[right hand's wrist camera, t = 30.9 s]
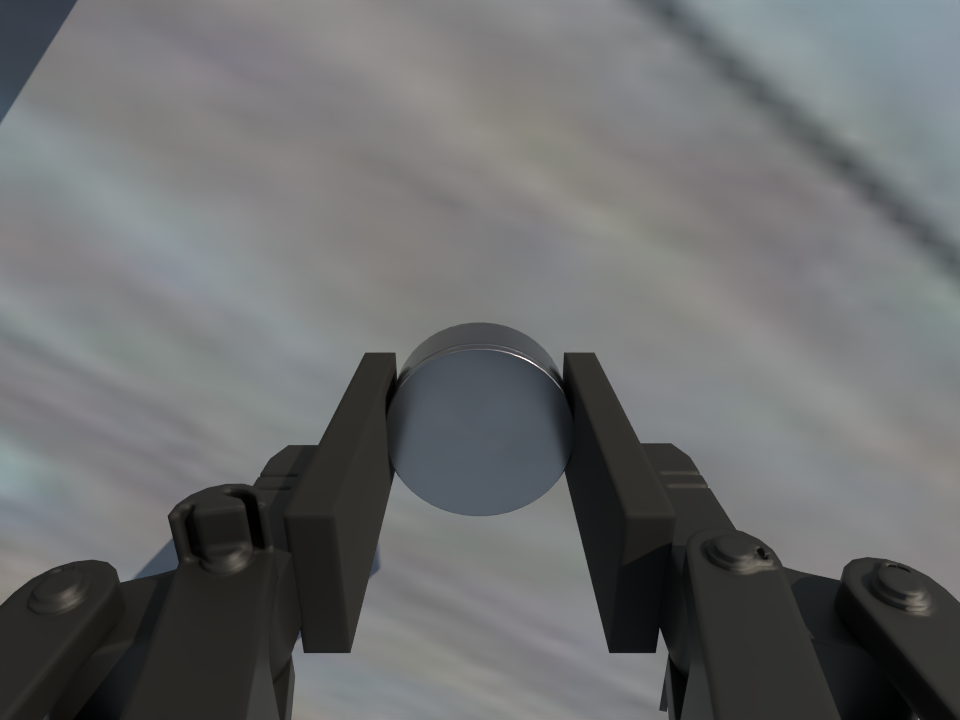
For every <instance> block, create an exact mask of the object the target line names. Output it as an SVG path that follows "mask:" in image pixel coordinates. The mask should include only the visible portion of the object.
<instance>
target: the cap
mask: <svg viewBox="0 0 960 720" xmlns="http://www.w3.org/2000/svg"><path fill="white" fill-rule="evenodd" d="M573 426H574V417H573V413H572V409H571V406H570V403H569V399H568V396H567V393H566V390H565V387H564V384H563V381H562V378H561V375H560V373H559V371H558V368H557V366H556V365H555V363H554V361H553V360H552V358H551V357H550V356H549V354H548V353H547V352H546V351H545V350H544V349H543V348H542V347H541V346H540V345H539V344H538V343H537V342H536V341H534V340H533V339H531V338H530V337H529V336H527V335H525V334H523V333H521V332H519V331H517V330H515V329H512V328H510V327H507V326H502V325H498V324H492V323H468V324H461V325H457V326H453V327H450V328H447V329H445V330H442V331H440V332H438V333H436V334H435V335H433V336H431V337H429V338H428V339H427V340H425V341H424V342H423V343H421V344H420V345H419V346H418V347H417V348H416V349H415V350H414V351H413V352H412V354H411V355H410V356H409V358H408V359H407V360H406V362H405V364H404V366H403V368H402V369H401V372H400V375H399V377H398V380H397V383H396V386H395V389H394V392H393V395H392V398H391V401H390V404H389V407H388V410H387V415H386V432H387V447H388V456H389V459H390V461H391V464H392V466H393V467H394V469H395V471H396V473H397V475H398V476H399V477H400V478H401V480H402V481H403V482H404V484H405V485H406V486H407V487H408V488H409V489H410V490H411V491H412V492H414V493H415V494H416V495H417V496H419V497H420V498H421V499H423V500H425V501H426V502H428V503H430V504H431V505H434V506H436V507H438V508H440V509H443V510H446V511H449V512H452V513H457V514H462V515H470V516H490V515H498V514H503V513H507V512H511V511H514V510H516V509H519V508H522V507H524V506H526V505H528V504H530V503H532V502H533V501H535V500H536V499H538V498H540V497H541V496H542V495H543V494H545V493H546V492H547V491H548V490H549V489H550V488H551V487H552V486H553V485H554V484H555V483H556V482H557V481H558V479H559V478H560V476H561V475H562V474H563V472H564V470H565V468H566V467H567V465H568V463H569V460H570V457H571V454H572V441H573Z"/></svg>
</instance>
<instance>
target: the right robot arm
mask: <svg viewBox="0 0 960 720" xmlns="http://www.w3.org/2000/svg"><path fill="white" fill-rule="evenodd" d="M396 383H397V371H396V354H395V353H365V354H364V356H363V358H362V360H361V362H360V364H359V366H358V368H357V370H356V372H355V374H354V376H353V378H352V380H351V382H350V384H349V386H348V388H347V390H346V392H345V394H344V396H343V398H342V400H341V402H340V404H339V405H338V407H337V409H336V411H335V413H334V415H333V417H332V419H331V421H330V423H329V425H328V427H327V429H326V431H325V433H324V435H323V437H322V439H321V441H320V443H319V445H288V446H287V447H286V448H284V449H283V450H281V451H280V452H279V453H277V454H276V455H275V456H273V457H272V458H270V460H269V461H268V463H267V464H266V466H265V468H264V469H263V471H262V472H261V474H260V477H258V479H257V480H256V482H255V483H254V485H253V486H250V485H246V484H224V485H219V486H214V487H210V488H206V489H204V490H202V491H199V492H197V493H194V494H192V495H190V496H189V497H187V498H186V499H184V500H183V501H181V502H180V503H178V504H177V505H176V506H175V507H174V509H173V510H172V511H171V512H170V514H169V515H168V519H169V523H170V527H171V531H172V536H173V540H174V544H175V548H176V552H177V556H178V560H179V564H178V567H177V569H175V570H172V571H169V572H165V573H162V574H158V575H153V576H149V577H144V578H140V579H135V580H131V581H126V582H122V583H120V581H119V577H118V574H117V571H116V569H115V568H114V567H113V566H111V565H110V564H109V563H108V562H103V561H97V560H85V561H76V562H71V563H68V564H64V565H61V566H58V567H55V568H52V569H50V570H48V571H46V572H44V573H43V574H41V575H39V576H37V577H35V578H33V579H31V580H30V581H28V582H27V583H26V584H25V585H23V586H22V587H21V588H19V589H18V590H17V591H15V592H14V593H13V594H12V595H11V596H10V597H9V598H8V599H7V600H6V601H5V602H4V603H3V604H2V605H1V606H0V720H291V716H292V704H293V693H294V682H295V673H294V666H293V660H292V654H291V653H292V651H293V648H294V645H295V642H296V639H297V637H298V634H299V631H301V637H302V643H303V650H304V653H350V652H351V648H352V644H353V640H354V636H355V632H356V628H357V623H358V619H359V615H360V611H361V607H362V603H363V599H364V595H365V591H366V587H367V583H368V579H369V575H370V571H371V567H372V563H373V559H374V554H375V550H376V546H377V542H378V538H379V534H380V530H381V526H382V522H383V518H384V514H385V510H386V506H387V502H388V498H389V494H390V490H391V486H392V481H393V477H394V473H395V469H394V467H393V466H392V464H391V461H390V459H389V456H388V447H387V432H386V415H387V410H388V407H389V404H390V401H391V398H392V395H393V392H394V389H395V386H396ZM563 384H564V387H565V390H566V393H567V396H568V399H569V403H570V406H571V409H572V413H573V417H574V426H573V441H572V454H571V457H570V460H569V463H568V465H567V467H566V468H565V470H564V471H565V475H566V479H567V483H568V487H569V491H570V495H571V499H572V503H573V507H574V511H575V515H576V519H577V523H578V528H579V532H580V536H581V540H582V544H583V548H584V552H585V556H586V560H587V564H588V568H589V572H590V576H591V580H592V584H593V588H594V592H595V597H596V601H597V605H598V609H599V613H600V617H601V621H602V625H603V629H604V633H605V637H606V641H607V645H608V649H609V653H656V648H657V641H658V635H659V628H660V629H661V632H662V635H663V638H664V640H665V643H666V646H667V649H668V651H669V654H668V660H667V666H666V672H665V678H664V684H663V690H662V696H661V703H660V709H659V710H660V711H665V712H667V707H668V714H669V720H918V718H919V719H920V720H960V603H959V602H958V601H957V600H956V599H955V598H954V597H953V596H952V595H951V594H950V593H949V592H948V591H947V590H946V589H945V588H943V587H942V586H941V585H939V584H938V583H937V582H935V581H934V580H933V579H931V578H930V577H929V576H927V575H925V574H923V573H921V572H919V571H917V570H915V569H913V568H911V567H909V566H906V565H904V564H901V563H897V562H894V561H890V560H887V559H879V558H870V557H866V558H860V559H855V560H852V561H851V562H850V563H848V564H847V565H846V566H845V567H844V569H843V573H842V576H841V579H840V580H835V579H831V578H826V577H822V576H817V575H813V574H808V573H804V572H799V571H796V570H792V569H789V568H785V567H783V566H782V564H781V561H780V560H779V558H778V557H777V555H776V554H775V552H774V551H773V550H772V549H771V548H770V547H768V546H767V545H766V544H765V543H763V542H762V541H761V540H759V539H757V538H755V537H753V536H751V535H749V534H747V533H745V532H742V531H738V530H736V529H735V527H734V525H733V524H732V522H731V521H730V519H729V518H728V516H727V515H726V513H725V511H724V510H723V508H722V507H721V505H720V504H719V502H718V500H717V499H716V497H715V496H714V494H713V493H712V491H711V489H710V488H708V485H707V483H706V482H705V480H704V478H703V477H702V475H700V474H699V473H700V472H699V471H698V469H697V467H696V466H695V464H694V463H693V461H692V460H691V458H690V457H689V456H688V455H686V454H685V453H684V452H682V451H681V450H680V449H678V448H677V447H675V446H674V445H673V444H671V443H640V442H639V440H638V438H637V436H636V434H635V432H634V430H633V428H632V426H631V424H630V422H629V420H628V418H627V416H626V414H625V412H624V410H623V408H622V406H621V404H620V402H619V400H618V398H617V396H616V394H615V392H614V391H613V389H612V387H611V385H610V383H609V381H608V379H607V377H606V375H605V373H604V371H603V369H602V367H601V365H600V363H599V361H598V359H597V357H596V355H595V353H564V364H563Z"/></svg>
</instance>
